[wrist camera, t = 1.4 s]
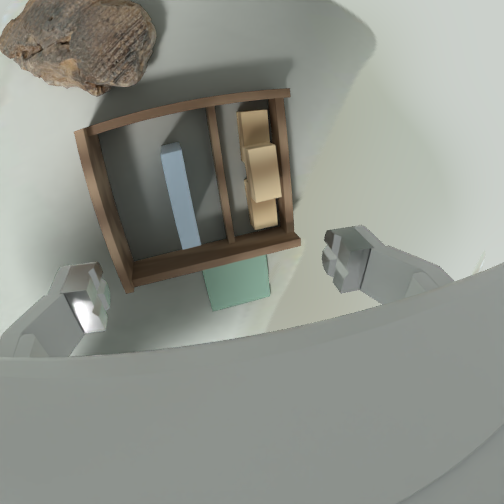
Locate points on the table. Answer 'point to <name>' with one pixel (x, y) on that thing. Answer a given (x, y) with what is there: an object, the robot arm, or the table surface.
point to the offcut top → (262, 171)
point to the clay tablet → (81, 42)
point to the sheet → (180, 195)
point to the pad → (237, 282)
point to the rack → (232, 246)
